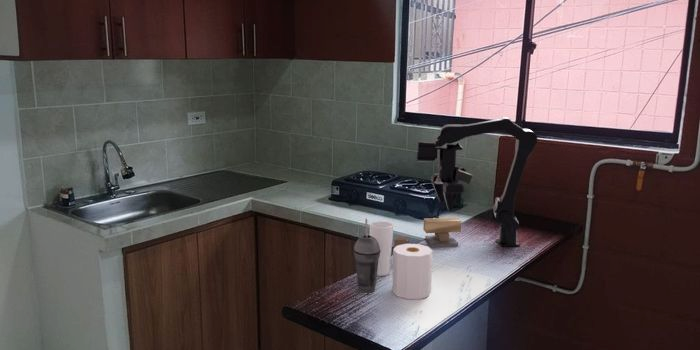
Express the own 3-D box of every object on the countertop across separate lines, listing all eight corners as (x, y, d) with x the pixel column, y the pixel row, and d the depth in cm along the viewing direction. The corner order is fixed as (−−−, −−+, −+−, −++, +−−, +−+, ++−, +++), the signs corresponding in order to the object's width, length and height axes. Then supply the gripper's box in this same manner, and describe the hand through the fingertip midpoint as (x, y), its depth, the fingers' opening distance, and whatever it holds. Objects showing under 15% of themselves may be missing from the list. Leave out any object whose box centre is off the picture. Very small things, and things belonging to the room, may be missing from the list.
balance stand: (458, 245, 193) (458, 234, 192) (432, 246, 192) (432, 235, 191) (450, 237, 202) (450, 226, 201) (425, 238, 201) (425, 227, 200)
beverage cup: (357, 297, 152) (358, 224, 147) (350, 286, 158) (350, 217, 154) (383, 294, 153) (385, 222, 149) (375, 284, 160) (376, 215, 156)
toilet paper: (407, 281, 163) (409, 240, 160) (438, 291, 156) (439, 249, 153) (384, 291, 155) (385, 249, 153) (415, 303, 148) (416, 258, 146)
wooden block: (406, 265, 175) (407, 240, 173) (393, 264, 176) (394, 239, 174) (408, 261, 178) (409, 236, 177) (396, 259, 180) (396, 235, 178)
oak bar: (460, 232, 195) (461, 220, 194) (426, 233, 193) (426, 221, 192) (457, 228, 199) (457, 217, 198) (423, 229, 197) (423, 218, 196)
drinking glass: (378, 267, 173) (378, 219, 170) (396, 272, 169) (397, 223, 166) (364, 273, 168) (364, 224, 165) (382, 279, 164) (383, 229, 161)
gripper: (480, 167, 185) (478, 213, 188) (461, 157, 203) (459, 199, 206) (447, 167, 183) (445, 215, 187) (431, 157, 202) (429, 200, 205)
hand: (445, 207), depth 196 cm, fingers open, 9 cm apart
